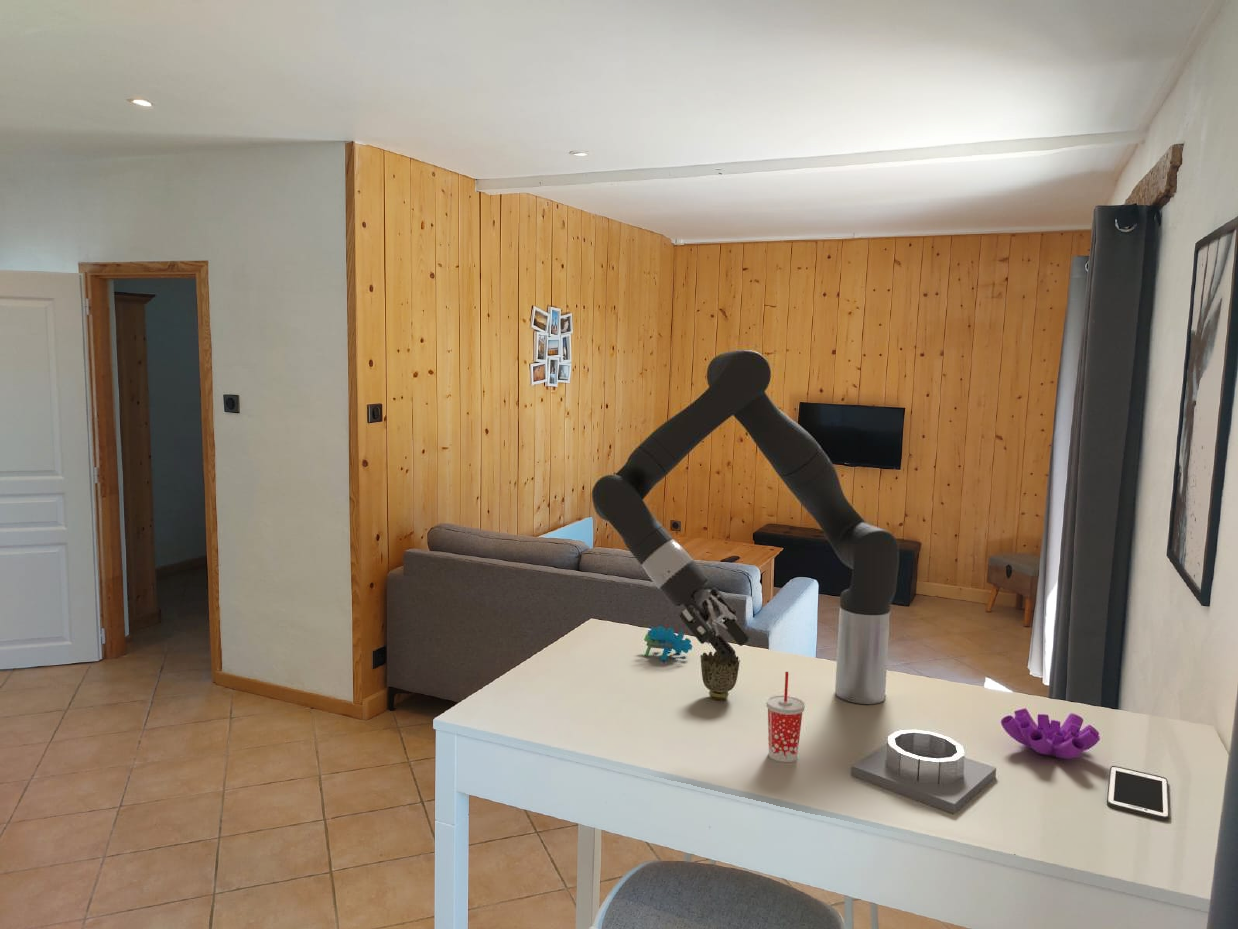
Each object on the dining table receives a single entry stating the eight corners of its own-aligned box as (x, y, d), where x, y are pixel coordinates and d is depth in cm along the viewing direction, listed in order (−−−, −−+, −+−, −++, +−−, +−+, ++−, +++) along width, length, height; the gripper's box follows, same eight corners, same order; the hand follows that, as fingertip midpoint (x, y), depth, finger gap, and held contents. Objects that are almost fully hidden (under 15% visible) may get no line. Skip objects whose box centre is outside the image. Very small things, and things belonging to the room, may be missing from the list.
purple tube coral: (1098, 783, 137) (1113, 754, 131) (998, 769, 141) (1008, 740, 135) (1087, 721, 145) (1101, 690, 139) (993, 710, 149) (1002, 679, 143)
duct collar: (905, 744, 139) (907, 724, 139) (973, 767, 131) (975, 745, 131) (874, 766, 131) (875, 744, 131) (944, 791, 123) (945, 768, 123)
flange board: (897, 744, 143) (898, 735, 142) (995, 777, 132) (996, 767, 131) (850, 775, 131) (851, 765, 131) (953, 814, 120) (954, 804, 120)
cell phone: (1167, 783, 132) (1167, 777, 132) (1169, 825, 119) (1169, 818, 119) (1109, 770, 136) (1110, 764, 136) (1105, 809, 123) (1106, 803, 123)
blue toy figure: (700, 649, 184) (680, 624, 178) (692, 674, 180) (671, 649, 174) (658, 646, 190) (637, 621, 184) (649, 669, 187) (628, 645, 181)
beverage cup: (809, 761, 135) (814, 676, 134) (776, 767, 133) (780, 681, 132) (788, 745, 141) (792, 663, 140) (756, 750, 139) (760, 667, 137)
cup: (740, 706, 157) (742, 664, 156) (700, 705, 157) (702, 663, 156) (735, 691, 165) (737, 651, 164) (697, 689, 165) (699, 650, 164)
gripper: (675, 568, 134) (743, 649, 131) (703, 551, 147) (766, 625, 144) (643, 596, 137) (709, 677, 134) (674, 577, 150) (734, 650, 146)
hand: (738, 649), depth 139 cm, fingers open, 8 cm apart
